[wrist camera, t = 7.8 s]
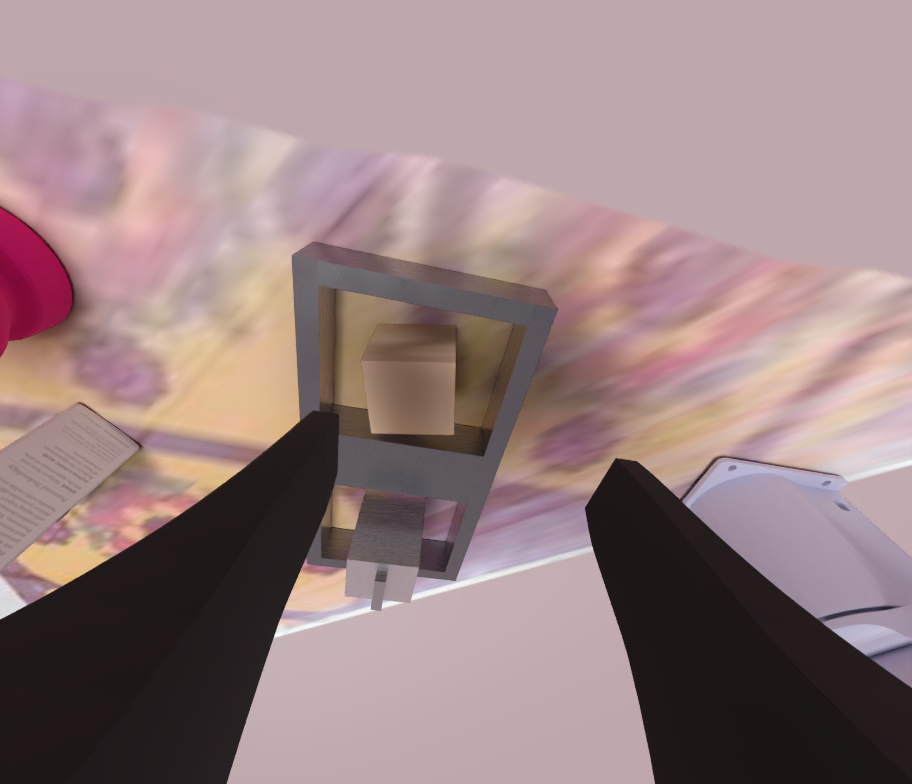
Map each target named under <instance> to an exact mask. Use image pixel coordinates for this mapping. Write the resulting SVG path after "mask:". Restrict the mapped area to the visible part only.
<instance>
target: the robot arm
mask: <svg viewBox="0 0 912 784" xmlns="http://www.w3.org/2000/svg"><path fill="white" fill-rule="evenodd" d="M338 443H339V414H334V413H328V412H321V411H315V410H313V411H312V412H310V413H309V414H308V415H307V416H305V417H304V418H303V419H302V420H301V421H300V422H299V423H297V424H296V425H295V426H294V427H293V428H292V429H291V430H290V431H288V432H287V433H286V434H285V435H284V436H283V437H281V438H280V439H279V440H278V441H277V442H275V443H274V444H273V445H272V446H271V447H270V448H268V449H267V450H266V451H265V452H263V453H262V454H261V455H260V456H258V457H257V458H256V459H255V460H253V461H252V462H251V463H250V464H248V465H247V466H246V467H245V468H244V469H242V470H241V471H240V472H238V473H237V474H236V475H234V476H233V477H232V478H230V479H229V480H228V481H226V482H225V483H224V484H222V485H221V486H219V487H218V488H217V489H215V490H214V491H213V492H211V493H210V494H209V495H207V496H206V497H204V498H203V499H202V500H200V501H199V502H198V503H196V504H195V505H193V506H192V507H190V508H189V509H187V510H186V511H184V512H183V513H182V514H180V515H179V516H177V517H176V518H174V519H173V520H171V521H170V522H168V523H167V524H165V525H163V526H162V527H160V528H159V529H157V530H156V531H154V532H152V533H151V534H149V535H148V536H146V537H145V538H143V539H142V540H140V541H138V542H137V543H135V544H133V545H132V546H130V547H128V548H127V549H125V550H123V551H122V552H120V553H118V554H117V555H115V556H113V557H112V558H110V559H108V560H107V561H105V562H103V563H102V564H100V565H98V566H97V567H95V568H93V569H92V570H90V571H88V572H87V573H85V574H83V575H81V576H80V577H78V578H76V579H74V580H73V581H71V582H69V583H67V584H65V585H64V586H62V587H60V588H58V589H57V590H55V591H53V592H51V593H49V594H48V595H46V596H44V597H42V598H40V599H38V600H36V601H35V602H33V603H31V604H29V605H27V606H25V607H23V608H21V609H19V610H18V611H16V612H14V613H12V614H10V615H8V616H6V617H4V618H2V619H0V784H227V780H228V777H229V774H230V771H231V767H232V764H233V761H234V758H235V755H236V751H237V748H238V745H239V741H240V739H241V735H242V732H243V729H244V726H245V723H246V719H247V717H248V714H249V711H250V707H251V704H252V701H253V698H254V695H255V692H256V689H257V686H258V682H259V680H260V677H261V674H262V671H263V668H264V665H265V662H266V659H267V656H268V653H269V650H270V647H271V644H272V641H273V638H274V635H275V632H276V629H277V626H278V623H279V621H280V618H281V616H282V613H283V610H284V608H285V605H286V603H287V600H288V598H289V596H290V593H291V591H292V589H293V587H294V584H295V582H296V580H297V577H298V575H299V573H300V570H301V568H302V566H303V563H304V561H305V559H306V557H307V554H308V552H309V550H310V547H311V545H312V543H313V540H314V538H315V536H316V533H317V531H318V529H319V526H320V524H321V522H322V519H323V517H324V515H325V512H326V510H327V506H328V503H329V500H330V497H331V494H332V490H333V487H334V484H335V480H336V477H337V474H338ZM846 485H847V481H846V480H845V479H844V478H843V477H841V476H835V475H828V474H822V473H816V472H810V471H804V470H798V469H792V468H786V467H780V466H774V465H768V464H762V463H755V462H749V461H743V460H737V459H731V458H720V459H718V460H717V461H715V463H714V464H713V465H712V466H711V467H710V469H709V470H708V471H707V472H706V473H705V474H704V476H703V477H702V478H701V479H700V480H699V482H698V483H697V484H696V485H695V486H694V488H693V489H692V490H691V491H690V492H689V494H688V495H687V496H686V497H685V498H684V499H683V501H681V500H680V499H678V498H677V497H676V496H675V495H674V494H673V493H672V492H671V491H670V490H669V489H668V488H667V487H666V486H665V485H664V484H662V483H661V482H660V481H659V480H658V479H657V478H656V477H655V476H654V475H653V474H651V473H650V472H649V471H648V470H647V469H646V468H645V467H643V466H642V465H641V464H640V463H638V462H637V461H631V460H624V459H618V458H616V459H615V460H614V462H613V463H612V465H611V467H610V468H609V470H608V472H607V473H606V475H605V476H604V478H603V480H602V481H601V483H600V484H599V486H598V488H597V489H596V491H595V492H594V494H593V496H592V497H591V499H590V500H589V502H588V504H587V505H586V507H585V511H586V517H587V522H588V528H589V533H590V538H591V542H592V547H593V550H594V553H595V556H596V559H597V562H598V565H599V568H600V571H601V575H602V578H603V580H604V584H605V587H606V590H607V592H608V596H609V598H610V601H611V605H612V607H613V611H614V614H615V616H616V620H617V623H618V626H619V628H620V631H621V635H622V638H623V641H624V644H625V648H626V651H627V655H628V658H629V662H630V666H631V671H632V675H633V679H634V683H635V688H636V692H637V696H638V700H639V705H640V709H641V714H642V719H643V724H644V729H645V733H646V738H647V743H648V748H649V753H650V757H651V763H652V769H653V775H654V780H655V784H912V558H911V557H910V556H909V555H908V554H907V553H906V552H905V551H904V550H902V549H901V548H900V547H899V546H898V545H897V544H896V543H895V542H894V541H892V540H891V539H890V538H889V537H888V536H887V535H886V534H885V533H883V532H882V531H881V530H880V529H879V528H878V527H876V525H875V524H873V523H872V522H871V521H870V520H869V519H868V518H867V517H865V516H864V515H863V514H862V513H861V512H860V511H859V510H858V509H857V508H855V507H854V506H853V505H852V504H851V503H850V502H849V501H848V500H847V499H845V498H844V497H843V496H842V495H841V494H840V493H839V491H840V490H842V489H843V488H844V487H845V486H846Z"/></svg>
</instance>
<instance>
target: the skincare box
mask: <svg viewBox="0 0 912 784" xmlns="http://www.w3.org/2000/svg"><path fill="white" fill-rule="evenodd" d="M138 450H139V445H138V444H136V443H135V442H134V441H133V440H131V439H130V438H129V437H128V436H127V435H125V434H124V433H123V432H121V431H120V430H119V429H117V428H116V427H115V426H113V425H112V424H110V423H109V422H108V421H106V420H105V419H103V418H102V417H100V416H99V415H97V414H96V413H94V412H93V411H91V410H90V409H88V408H86V407H85V406H83V405H81V404H75V405H73V406H71V407H70V408H68V409H66V410H65V411H63V412H61V413H60V414H58V415H56V416H55V417H53V418H51V419H50V420H48V421H46V422H45V423H43V424H42V425H40V426H38V427H37V428H35V429H34V430H32V431H30V432H29V433H27V434H26V435H24V436H22V437H21V438H19V439H18V440H16V441H14V442H13V443H11V444H9V445H8V446H6V447H5V448H3V449H1V450H0V572H1V571H2V570H3V569H4V568H6V567H7V566H8V565H9V564H10V563H11V562H12V561H14V560H15V559H16V558H17V557H18V556H19V555H20V554H22V553H23V552H24V551H25V550H26V549H27V548H28V547H29V546H30V545H32V544H33V543H34V542H35V541H36V540H37V539H38V538H40V537H41V536H42V535H43V534H44V533H45V532H46V531H48V530H49V529H50V528H51V527H52V526H53V525H54V524H55V523H57V522H58V521H59V520H60V519H61V518H63V517H64V516H65V515H66V514H67V513H68V512H69V511H70V510H71V509H72V508H73V507H75V506H76V505H77V504H78V503H79V502H80V501H81V500H82V499H84V498H85V497H86V496H87V495H88V494H89V493H90V492H92V491H93V490H94V489H95V488H96V487H97V486H98V485H99V484H101V483H102V482H103V481H104V480H105V479H106V478H107V477H109V476H110V475H111V474H112V473H113V472H114V471H115V470H116V469H118V468H119V467H120V466H121V465H122V464H123V463H124V462H125V461H126V460H128V459H129V458H130V457H131V456H132V455H133V454H134V453H136V452H137V451H138Z"/></svg>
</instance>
